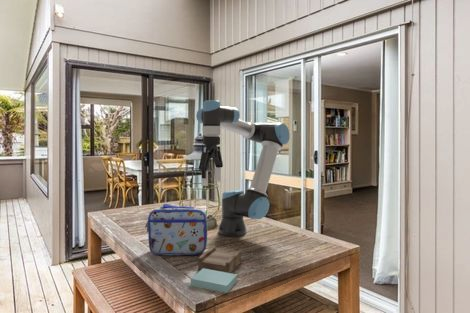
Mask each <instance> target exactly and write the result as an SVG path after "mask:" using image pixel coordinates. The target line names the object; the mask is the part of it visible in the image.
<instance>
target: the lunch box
mask: <svg viewBox="0 0 470 313" xmlns="http://www.w3.org/2000/svg"><path fill="white" fill-rule="evenodd" d="M144 229H146V232H147V233H148V235H147V236H148V247H149V251H150V253H152V254H153V255H157V256H188V255H189V256H190V255H199V254H200V255H201V254H203V253H205V252H206V251H205V250H206V248H207V243H208V214H207V211H206V210H205V209H204V208H202V207H196V206H186V205H185V206H182V205H181V206H177V205H171V204H167V203H163V204H162V206H158V207H155V208H154V209H153V210H152V211H151V212H150V213H149V214H148V217H147V220H146V224H145V226H144Z"/></svg>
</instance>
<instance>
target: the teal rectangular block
mask: <svg viewBox="0 0 470 313" xmlns="http://www.w3.org/2000/svg"><path fill="white" fill-rule="evenodd" d="M237 282H238V274H236V273H233V272H232V273H226V272H221V271H215V270H210V269H205V268H203V269H202V270H198V272H197V273H195V274H194V275H193V276H192V277H191V278H190V287H196V288H200V289H201V288H202V289H204V290H205V289H206V290H209V291H215V292H220V293H224V294H227V293H228V292H229V291H230V290H231V289H232V288H233V287H234V286H235V284H236V283H237Z"/></svg>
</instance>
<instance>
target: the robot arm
mask: <svg viewBox="0 0 470 313" xmlns="http://www.w3.org/2000/svg"><path fill="white" fill-rule="evenodd" d="M240 115H241V114H240V111H239V109H238V108H237V107H232V106H225V105H224V106H222V105H221V101H219V100H217V99H216V100H215V99H214V100H213V99H212V100H211V99H208V100H204V101H203V104H202V108H200V109H198V110H197V111H196V116H195V118H196V120H197V121H198V123H199V124H203V125H202V131H203V132H202V133H203V134H202V135H203V136H202V144H203V145H205V146H203V147H202V150H201V156H200V161H199V164H198V171H201V173H200V174H201V175H200V176H201V182H200V183H201V187H202V186H203V187H208V186H209V170H208V167H209V164H210V161H211V159H212V161H213V163H214V166H215V167H214V182H219V183H221V172H222V169H221V168H223V166H224V164H223V160H222V153H221V146H220V145H221V136H220V135H221V129H224V130H226V131H229V132H232V133H235V134H237V135H240V136H242V137H243V138H244V139H246V140H249V141H252V142H255V143H258V144H261V146H262V149H261V151H260V155H259V158H258V161H257V164H256V167H255V170H254V174H253V177H252V180H251V182H250V187H248V188H246V190H245V192H244V190H243V189H233V190H231V189H230V190H226V191H223V193H222V197H221V220H220V223H219V226H218V234H220V235H221V236H226V237H241V236H244V235H246V234H247V227H246V223H245V219H244V218H249V219H251V220H261V219H263V218H265V216H266V215H267V214H268V212H269V210H270V200H269V199H268V194H267V190H268V185H269V182H270V179H271V176H272V172H273V169H274V167H275V166H274V165H275V162H276V160H277V155H278V153H279V151H281V150H282V149H283V147H284V145H287V144H288V142H289V141H290V130H289V127H288V126H287V125H286V124H285V123H283V122H252V121H245V120H242V119H240V118H241V116H240ZM218 145H219V146H218Z"/></svg>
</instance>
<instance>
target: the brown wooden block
mask: <svg viewBox="0 0 470 313" xmlns="http://www.w3.org/2000/svg"><path fill="white" fill-rule="evenodd" d="M241 263H242V250H239V249H238V250H237V251H236V252H231V251H226V250H225V251H224V250H219V249H217V248H216V246H211V248H209V249H208V250H206V251H204V252H203V253H202V254H200V256H199V257H197V270H198V271H200V270H202V269H203V268H205V269H210V270H215V271H221V272H226V273H232V274H233V272H234V271H235V269H236V268H238V266H239V265H240V264H241Z"/></svg>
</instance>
